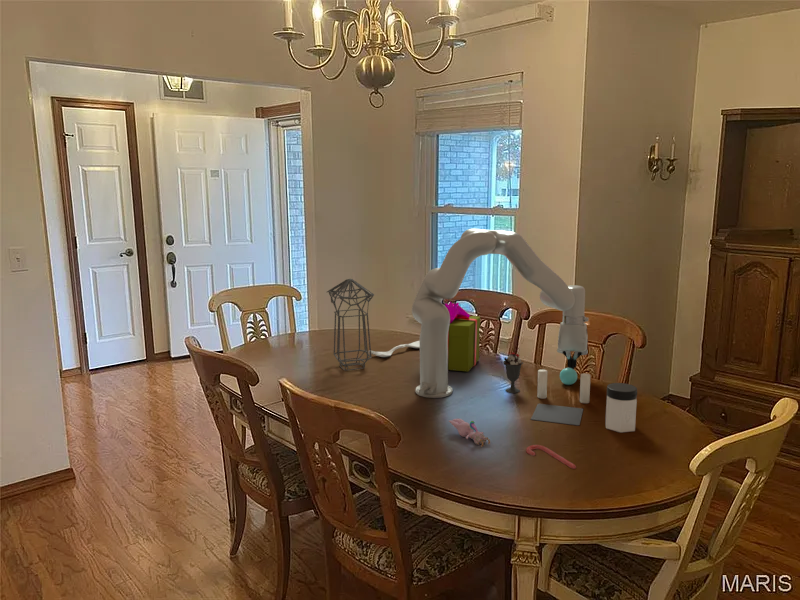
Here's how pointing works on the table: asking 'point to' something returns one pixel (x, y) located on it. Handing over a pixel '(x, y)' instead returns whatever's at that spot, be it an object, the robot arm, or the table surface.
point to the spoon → (386, 354)
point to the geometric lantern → (368, 295)
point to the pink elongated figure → (469, 431)
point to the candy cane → (549, 454)
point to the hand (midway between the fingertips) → (571, 368)
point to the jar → (621, 407)
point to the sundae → (513, 370)
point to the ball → (568, 376)
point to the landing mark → (557, 414)
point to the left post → (542, 384)
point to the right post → (584, 388)
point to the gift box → (462, 338)
